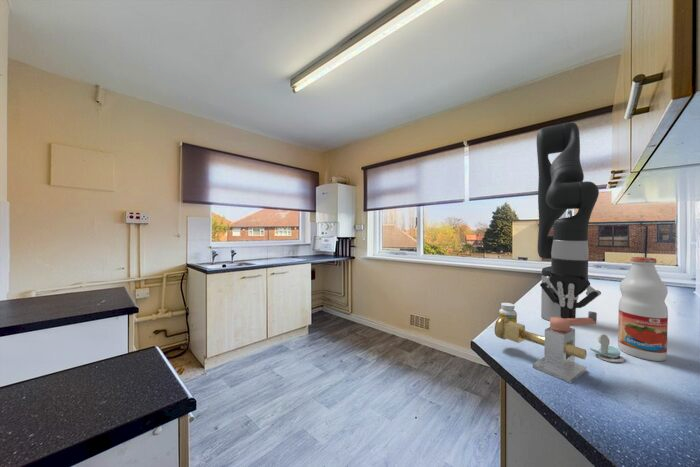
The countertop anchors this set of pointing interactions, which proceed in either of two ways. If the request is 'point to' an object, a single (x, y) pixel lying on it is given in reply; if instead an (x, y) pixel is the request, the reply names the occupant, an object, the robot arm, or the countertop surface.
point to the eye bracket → (559, 356)
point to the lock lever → (572, 322)
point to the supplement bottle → (508, 312)
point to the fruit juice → (643, 312)
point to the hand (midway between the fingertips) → (567, 320)
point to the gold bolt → (528, 336)
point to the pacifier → (604, 352)
